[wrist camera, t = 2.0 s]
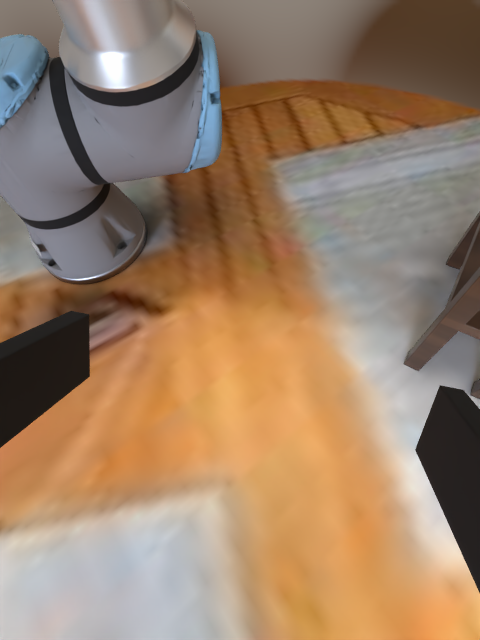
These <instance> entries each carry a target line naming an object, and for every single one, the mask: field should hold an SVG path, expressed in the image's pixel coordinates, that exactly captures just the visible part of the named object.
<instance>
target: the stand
mask: <svg viewBox="0 0 480 640" xmlns="http://www.w3.org/2000/svg"><path fill="white" fill-rule="evenodd" d="M446 265H448V266H451V267H454V268H457V269H460V268H461V269H460V272H459V274H458V277H457V279H456V282H455V284H454V287H453V289H452V292H451V294H450V297H449V299H448V302H447V304H446V307H445V309H444V310H443V312H442V313H441V314H440V315H439V316H438V318H437V319H436V320H435V321H434V322H433V324H432V325H431V326H430V327H429V329H428V330H427V331H426V332H425V333H424V335H423V336H422V337H421V338H420V339H419V341H418V342H417V343H416V344H415V345H414V347H413V348H412V349H411V350H410V351H409V353H408V355H407V357H406V360H405V362H404V364H405V365H407V366H409V367H411V368H413V369H415V370H418V371H419V370H420V369H421V368H422V367H423V366H424V365H425V364H426V363H427V362H428V361H429V360H430V359H431V358H432V357H433V356H434V355H435V354H436V353H437V352H438V351H439V350H440V349H441V348H442V347H443V346H444V345H445V344H446V343H447V342H448V341H449V340H450V339H451V338H452V337H453V336H454V335H455V334H456V333H457V332H458V331H460V332H462V333H465V334H467V335H470V336H472V337H475V338H477V339H480V212H479V213H478V215H477V216H476V218H475V219H474V221H473V222H472V223H471V225H470V226H469V228H468V229H467V231H466V232H465V234H464V235H463V237H462V238H461V240H460V241H459V243H458V244H457V246H456V247H455V249H454V250H453V252H452V253H451V254H450V256H449V258H448V261H447V263H446ZM461 266H462V267H461ZM471 395H472V396H474V397H476V398H478V399H480V379H479V380H477V381H475V382H474V385H473V388H472V391H471Z"/></svg>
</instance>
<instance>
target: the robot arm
mask: <svg viewBox="0 0 480 640" xmlns="http://www.w3.org/2000/svg"><path fill="white" fill-rule="evenodd" d="M52 1H53V3H54V5H55V7H56V9H57V11H58V13H59V15H60V17H61V19H62V21H63V23H64V27H63V30H62V33H61V37H60V41H59V53H60V57H57V58H50V57H49V54H48V51H47V49H46V48H45V47H44V46H43V45H42V44H41V43H40V41H39V40H37V38H35V37H33V36H30V35H27V36H24V35H22V34H18V35H11V36H7V37H3V38H0V195H1V196H2V197H3V198H4V200H5V201H6V202H7V203H8V204H9V205H10V206H11V208H12V209H13V210H14V211H15V212H16V213H17V214H18V215H19V216H20V218H21V219H22V220H23V221H24V222H25V224H26V226H27V229H28V231H29V234H30V236H31V238H30V237H29V238H30V241H31V243H32V246H33V247H34V248H35V250H36V252H37V255H38V257H39V259H40V260H41V262H42V264H43V265H44V266H45V267H46V269H47V270H48V271H49V272H50V273H51V274H52V275H53V276H55V277H56V278H58V279H60V280H62V281H64V282H68V283H73V284H89V283H95V282H99V281H102V280H105V279H108V278H110V277H112V276H114V275H116V274H118V273H119V272H121V271H123V270H124V269H125V268H127V267H128V266H129V265H130V264H131V263H132V262H133V261H134V260H135V259H136V258H137V257H138V255H139V254H140V252H141V251H142V249H143V247H144V244H145V241H146V237H147V227H146V224H145V221H144V219H143V217H142V214H141V213H140V211H139V210H138V208H137V207H136V205H135V204H134V203H133V202H132V201H131V200H130V199H129V198H128V197H127V196H126V195H125V194H124V193H123V192H122V191H121V190H120V189H119V188H118V187H116V186H115V185H114V184H113V183H116V182H122V181H129V180H136V179H143V178H149V177H156V176H163V175H170V174H176V173H187V172H189V171H190V170H193V169H197V168H202V167H206V166H209V165H211V164H213V163H214V162H215V161H216V160H217V159H218V157H219V154H220V151H221V143H222V112H221V101H220V80H219V69H218V60H217V53H216V47H215V42H214V39H213V37H212V35H211V34H210V33H207V32H202V31H200V30H196V24H195V20H194V17H193V15H192V12H191V11H190V9H189V7H188V6H187V5H186V4H185V3H184V2H183V1H182V0H52ZM31 239H32V240H31ZM88 377H90V359H89V314H84V313H79V312H74V311H70V312H68V313H65V314H63V315H61V316H59V317H57V318H54V319H52V320H50V321H48V322H46V323H43V324H41V325H39V326H37V327H35V328H32V329H30V330H28V331H26V332H24V333H21V334H19V335H17V336H15V337H13V338H10V339H8V340H6V341H4V342H2V343H0V448H1V447H2V446H3V445H4V444H6V443H7V442H8V441H9V440H11V439H12V438H13V437H14V436H16V435H17V434H18V433H19V432H21V431H22V430H23V429H24V428H26V427H27V426H28V425H29V424H31V423H32V422H33V421H34V420H36V419H37V418H38V417H39V416H41V415H42V414H43V413H44V412H46V411H47V410H48V409H49V408H51V407H52V406H53V405H54V404H56V403H57V402H58V401H59V400H61V399H62V398H63V397H65V396H66V395H67V394H68V393H70V392H71V391H72V390H73V389H75V388H76V387H77V386H78V385H80V384H81V383H82V382H83V381H85V380H86V379H87V378H88ZM415 450H416V452H417V455H418V457H419V459H420V461H421V464H422V466H423V468H424V470H425V472H426V475H427V477H428V479H429V481H430V484H431V486H432V488H433V490H434V492H435V495H436V497H437V499H438V501H439V503H440V506H441V508H442V510H443V512H444V515H445V517H446V519H447V521H448V523H449V526H450V528H451V530H452V532H453V535H454V537H455V539H456V541H457V543H458V546H459V548H460V550H461V552H462V555H463V557H464V559H465V561H466V563H467V566H468V568H469V570H470V572H471V575H472V577H473V579H474V581H475V583H476V586H477V588H478V590H479V592H480V409H479V408H478V407H477V406H476V404H475V403H474V402H473V401H472V400H471V399H470V397H469V396H468V395H467V394H466V393H465V391H464V390H460V389H455V388H450V387H445V386H440V387H439V389H438V392H437V395H436V397H435V400H434V402H433V405H432V408H431V410H430V413H429V415H428V418H427V421H426V423H425V426H424V428H423V431H422V434H421V436H420V439H419V441H418V444H417V447H416V449H415Z"/></svg>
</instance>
